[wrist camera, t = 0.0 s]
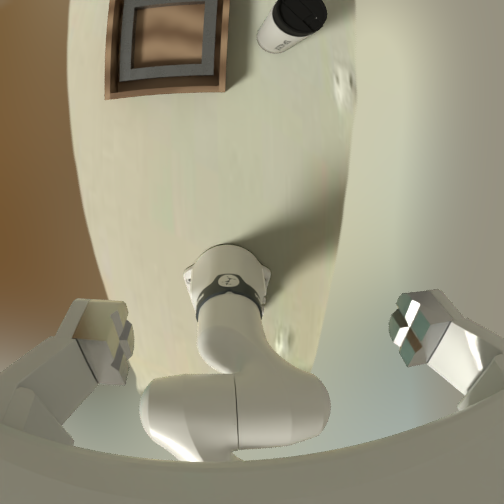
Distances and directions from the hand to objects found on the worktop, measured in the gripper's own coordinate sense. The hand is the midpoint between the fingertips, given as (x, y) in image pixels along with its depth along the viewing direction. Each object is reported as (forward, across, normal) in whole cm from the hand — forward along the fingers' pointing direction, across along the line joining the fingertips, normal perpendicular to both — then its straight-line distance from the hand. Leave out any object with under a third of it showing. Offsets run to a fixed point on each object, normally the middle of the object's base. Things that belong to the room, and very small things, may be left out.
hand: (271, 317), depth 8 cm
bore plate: (+48, -11, +17) cm, 52 cm away
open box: (+48, -11, +17) cm, 52 cm away
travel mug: (+48, +7, +17) cm, 52 cm away
